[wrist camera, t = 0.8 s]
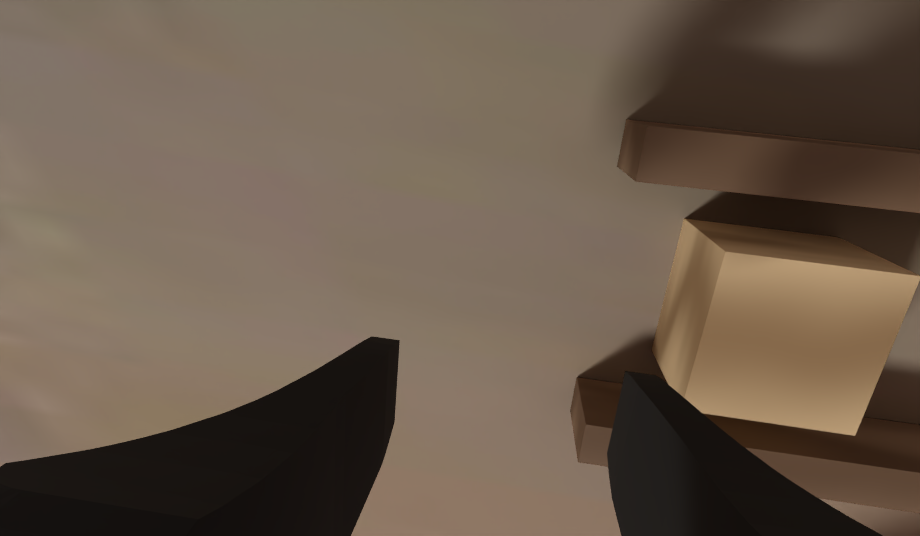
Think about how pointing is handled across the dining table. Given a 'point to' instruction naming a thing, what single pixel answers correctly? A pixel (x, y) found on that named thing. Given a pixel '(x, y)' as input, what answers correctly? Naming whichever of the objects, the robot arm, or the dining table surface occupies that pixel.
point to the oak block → (778, 324)
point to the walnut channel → (795, 177)
